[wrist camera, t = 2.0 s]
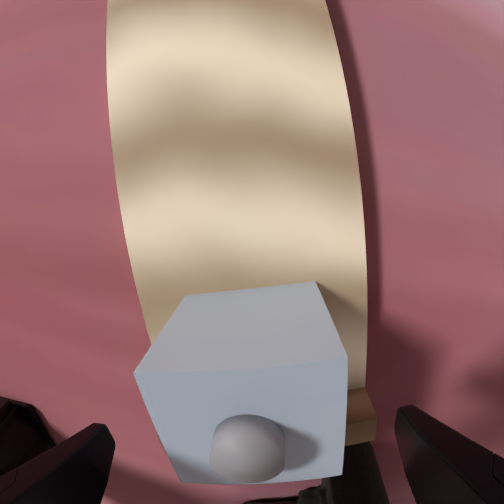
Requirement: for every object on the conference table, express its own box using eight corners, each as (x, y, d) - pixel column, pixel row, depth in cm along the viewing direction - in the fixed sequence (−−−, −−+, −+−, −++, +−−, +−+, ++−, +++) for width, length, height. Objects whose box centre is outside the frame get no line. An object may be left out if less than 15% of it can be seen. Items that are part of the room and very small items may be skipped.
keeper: (320, 378, 14) (346, 496, 7) (207, 388, 14) (175, 503, 8) (315, 280, 13) (357, 380, 6) (185, 295, 13) (119, 394, 7)
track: (359, 397, 15) (374, 440, 12) (181, 412, 16) (166, 454, 13) (296, -68, 10) (300, -108, 6) (117, -35, 11) (92, -65, 7)
